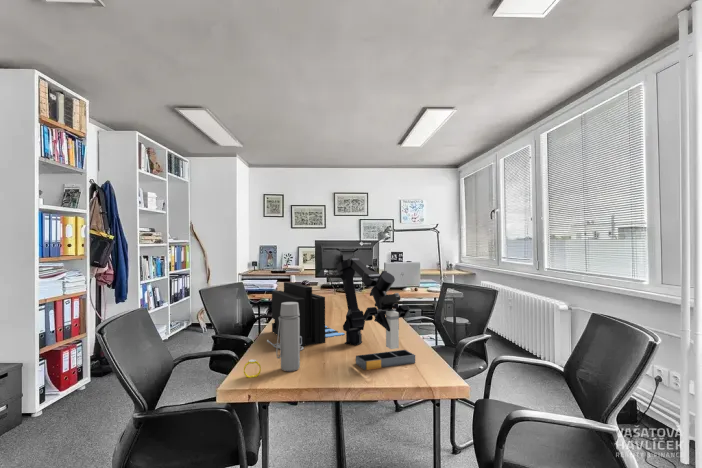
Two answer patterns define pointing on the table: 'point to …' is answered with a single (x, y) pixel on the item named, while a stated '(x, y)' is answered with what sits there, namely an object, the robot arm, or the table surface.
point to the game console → (303, 313)
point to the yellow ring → (252, 363)
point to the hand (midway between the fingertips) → (393, 330)
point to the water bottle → (289, 336)
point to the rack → (385, 359)
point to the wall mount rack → (279, 343)
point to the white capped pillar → (392, 329)
